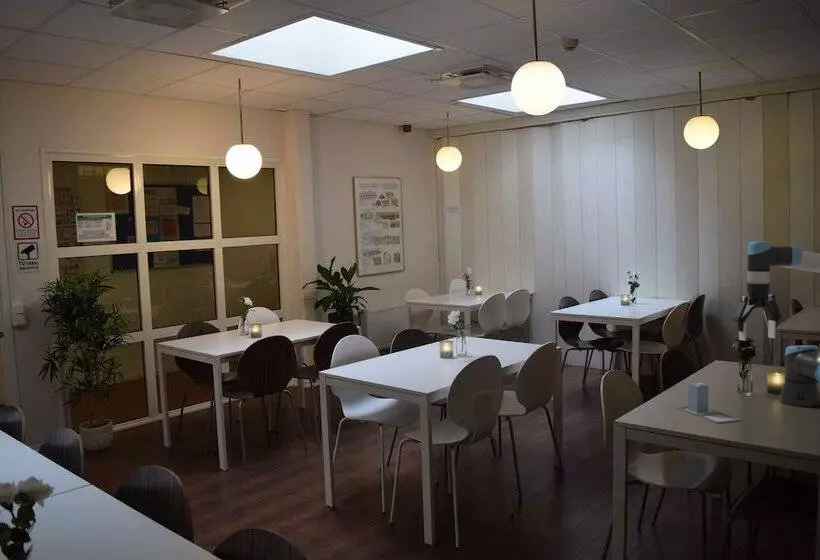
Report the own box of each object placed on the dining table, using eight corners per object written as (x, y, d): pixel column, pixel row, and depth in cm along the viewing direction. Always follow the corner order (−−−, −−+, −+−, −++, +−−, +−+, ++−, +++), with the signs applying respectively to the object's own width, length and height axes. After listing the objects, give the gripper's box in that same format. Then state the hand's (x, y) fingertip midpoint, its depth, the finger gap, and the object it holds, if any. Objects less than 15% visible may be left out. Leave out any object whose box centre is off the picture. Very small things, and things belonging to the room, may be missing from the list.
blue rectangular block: (698, 408, 264) (699, 380, 263) (708, 411, 259) (708, 383, 258) (688, 409, 263) (688, 381, 262) (697, 413, 258) (697, 384, 257)
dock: (704, 408, 269) (704, 403, 269) (748, 423, 247) (748, 418, 247) (670, 412, 264) (670, 407, 264) (711, 428, 243) (711, 423, 243)
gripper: (777, 280, 263) (775, 335, 265) (723, 283, 256) (722, 339, 257) (793, 281, 256) (791, 338, 257) (738, 284, 249) (737, 342, 250)
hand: (757, 339), depth 257 cm, fingers open, 13 cm apart
